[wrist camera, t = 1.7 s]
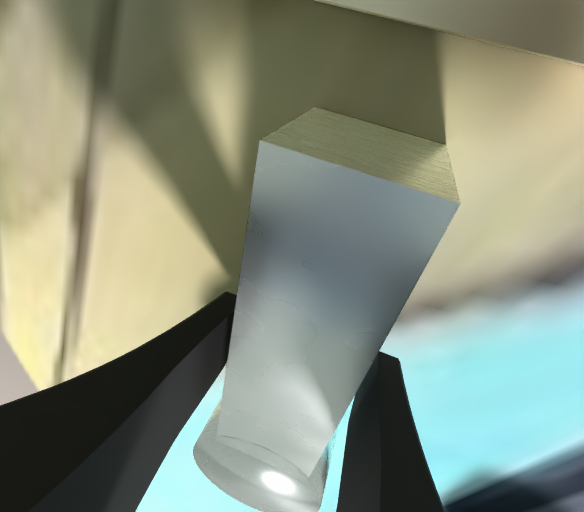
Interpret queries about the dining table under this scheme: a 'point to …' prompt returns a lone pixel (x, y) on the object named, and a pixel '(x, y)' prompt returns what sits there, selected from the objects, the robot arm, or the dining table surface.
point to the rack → (493, 22)
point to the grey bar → (318, 296)
